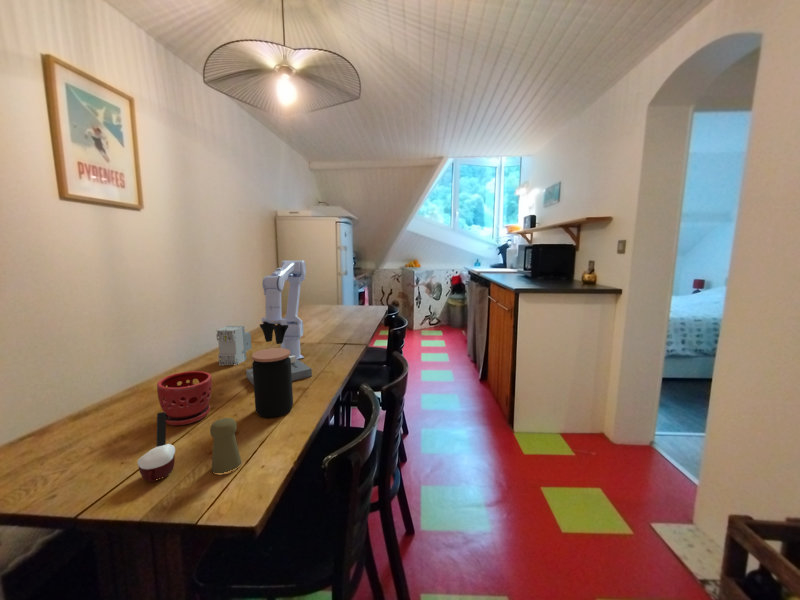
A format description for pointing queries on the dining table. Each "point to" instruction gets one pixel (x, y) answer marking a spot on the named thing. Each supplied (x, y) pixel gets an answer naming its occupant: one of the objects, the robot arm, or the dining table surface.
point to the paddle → (293, 359)
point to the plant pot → (185, 397)
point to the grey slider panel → (297, 370)
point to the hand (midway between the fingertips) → (274, 342)
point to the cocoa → (158, 455)
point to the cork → (224, 446)
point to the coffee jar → (272, 382)
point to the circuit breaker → (233, 344)
